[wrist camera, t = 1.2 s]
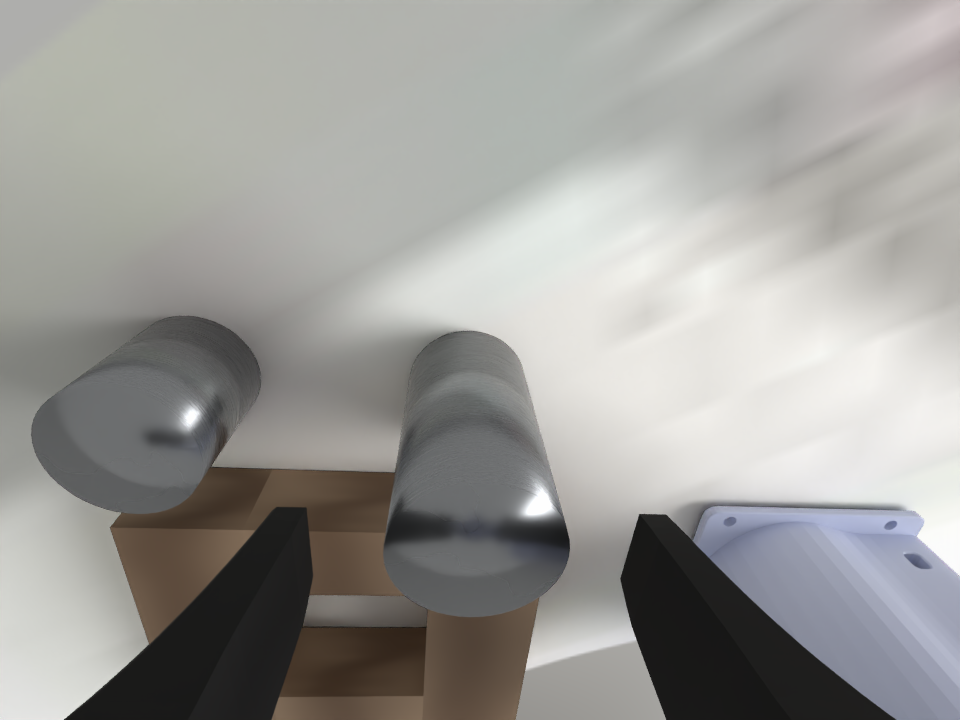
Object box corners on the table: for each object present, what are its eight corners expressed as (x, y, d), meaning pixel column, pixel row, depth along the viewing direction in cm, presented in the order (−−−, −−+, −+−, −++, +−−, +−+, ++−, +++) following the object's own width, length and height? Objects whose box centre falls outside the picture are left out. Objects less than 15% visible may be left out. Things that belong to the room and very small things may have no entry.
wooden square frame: (537, 477, 19) (551, 536, 17) (505, 667, 25) (512, 735, 22) (159, 466, 18) (110, 527, 16) (212, 668, 24) (181, 740, 21)
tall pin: (531, 334, 17) (584, 485, 10) (517, 433, 18) (555, 617, 12) (410, 327, 16) (382, 479, 10) (408, 429, 18) (383, 616, 11)
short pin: (253, 319, 16) (186, 389, 12) (266, 423, 18) (213, 515, 14) (121, 312, 16) (8, 382, 12) (148, 419, 17) (58, 512, 13)
